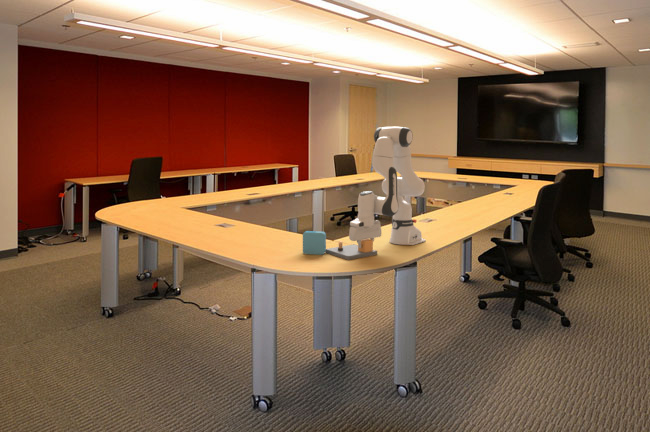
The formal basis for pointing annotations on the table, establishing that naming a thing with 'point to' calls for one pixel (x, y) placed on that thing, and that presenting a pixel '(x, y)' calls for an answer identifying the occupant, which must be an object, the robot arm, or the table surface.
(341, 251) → the board
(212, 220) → the table surface
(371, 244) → the orange cube
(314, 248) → the data package
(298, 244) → the table surface
